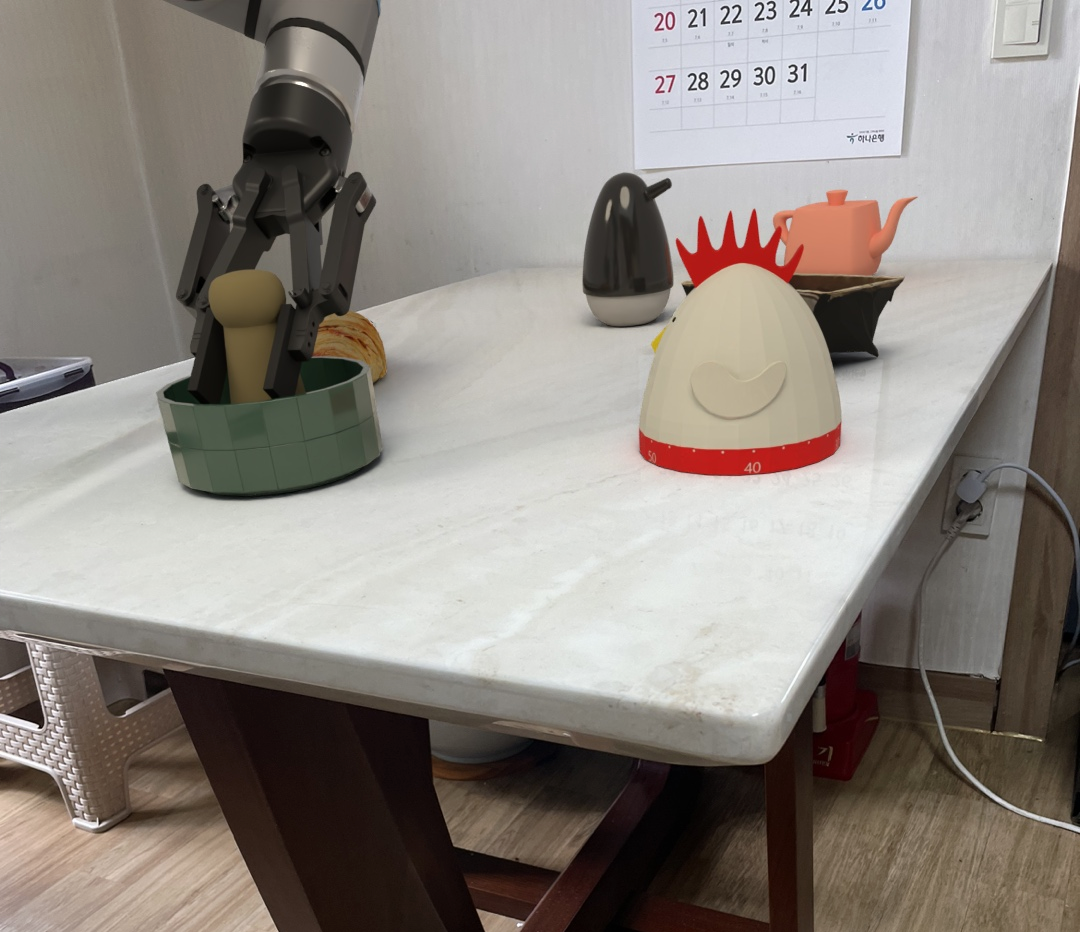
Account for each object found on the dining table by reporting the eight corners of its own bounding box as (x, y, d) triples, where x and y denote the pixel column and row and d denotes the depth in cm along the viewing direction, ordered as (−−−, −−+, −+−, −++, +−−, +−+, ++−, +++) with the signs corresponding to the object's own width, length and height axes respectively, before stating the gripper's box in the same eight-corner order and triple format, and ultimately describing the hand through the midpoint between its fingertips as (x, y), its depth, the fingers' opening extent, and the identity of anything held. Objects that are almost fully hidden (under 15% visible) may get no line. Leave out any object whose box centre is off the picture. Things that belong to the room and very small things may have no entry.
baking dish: (776, 360, 105) (762, 254, 100) (930, 350, 91) (921, 227, 86) (671, 401, 98) (652, 289, 94) (819, 397, 84) (804, 266, 80)
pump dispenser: (657, 331, 113) (654, 173, 105) (570, 330, 117) (561, 179, 109) (688, 313, 120) (687, 165, 113) (605, 314, 125) (598, 171, 117)
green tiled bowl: (138, 499, 74) (112, 407, 70) (245, 440, 86) (227, 358, 83) (328, 502, 70) (310, 404, 66) (413, 439, 82) (401, 354, 79)
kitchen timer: (647, 422, 81) (641, 208, 73) (831, 415, 78) (844, 193, 71) (632, 478, 69) (623, 229, 61) (847, 472, 66) (866, 212, 59)
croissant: (372, 439, 96) (401, 355, 93) (264, 398, 93) (291, 310, 90) (370, 385, 114) (395, 314, 111) (280, 349, 111) (302, 275, 108)
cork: (216, 440, 76) (178, 278, 70) (277, 418, 80) (245, 264, 75) (274, 447, 73) (238, 278, 67) (334, 424, 77) (305, 264, 72)
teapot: (788, 274, 140) (791, 188, 135) (924, 275, 131) (933, 182, 125) (752, 288, 132) (754, 197, 127) (894, 290, 123) (903, 192, 118)
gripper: (434, 147, 78) (381, 427, 73) (223, 166, 83) (159, 428, 78) (396, 63, 71) (334, 366, 66) (167, 89, 76) (93, 372, 71)
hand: (239, 399), depth 72 cm, fingers closed on cork, 5 cm apart
